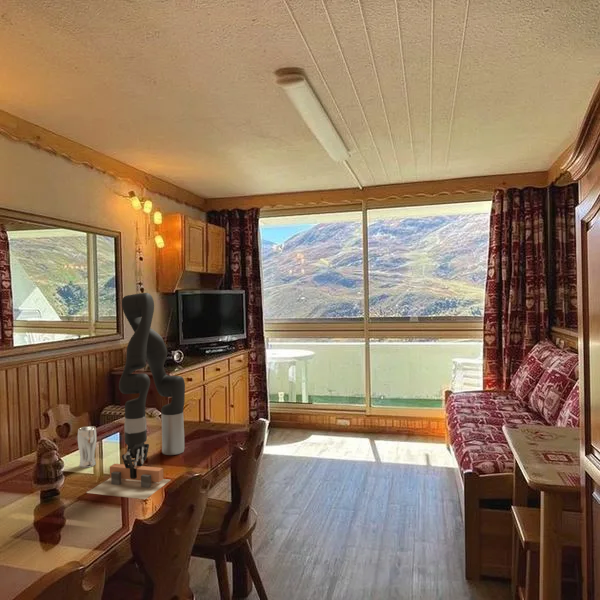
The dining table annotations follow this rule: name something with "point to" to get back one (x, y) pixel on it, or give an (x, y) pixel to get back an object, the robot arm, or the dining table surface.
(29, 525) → the dining table surface
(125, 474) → the bar
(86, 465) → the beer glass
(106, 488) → the board
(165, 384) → the robot arm
